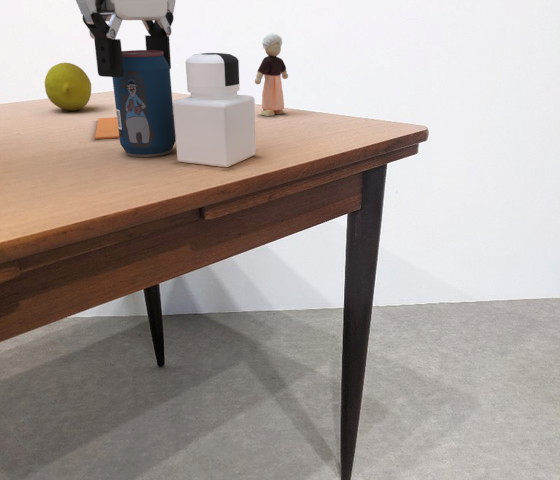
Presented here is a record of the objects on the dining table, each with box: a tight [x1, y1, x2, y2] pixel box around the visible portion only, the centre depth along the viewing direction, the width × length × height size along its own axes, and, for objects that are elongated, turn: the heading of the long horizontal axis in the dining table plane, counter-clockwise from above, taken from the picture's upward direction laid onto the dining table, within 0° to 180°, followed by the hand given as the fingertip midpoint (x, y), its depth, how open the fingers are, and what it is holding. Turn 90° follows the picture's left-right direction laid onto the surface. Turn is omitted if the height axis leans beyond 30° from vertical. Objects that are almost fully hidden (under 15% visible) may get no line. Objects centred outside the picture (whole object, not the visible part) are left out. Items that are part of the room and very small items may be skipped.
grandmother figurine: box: [254, 32, 289, 117], centre depth 100 cm, size 8×4×13 cm, turn 151°
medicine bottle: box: [172, 52, 257, 168], centre depth 71 cm, size 7×7×12 cm
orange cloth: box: [94, 116, 175, 140], centre depth 94 cm, size 22×16×1 cm
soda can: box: [111, 49, 176, 158], centre depth 75 cm, size 7×7×12 cm
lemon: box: [44, 62, 92, 112], centre depth 107 cm, size 11×8×8 cm
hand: (136, 72), depth 73 cm, fingers open, 9 cm apart
